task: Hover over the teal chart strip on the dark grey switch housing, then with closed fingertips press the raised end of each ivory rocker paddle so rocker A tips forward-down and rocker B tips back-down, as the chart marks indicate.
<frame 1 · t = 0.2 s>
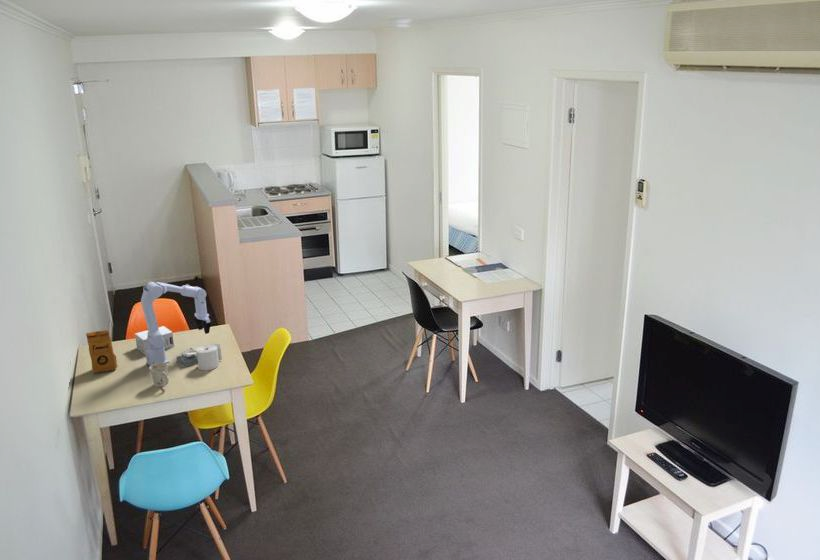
hand: (203, 331, 367), 10 cm above the table, fingers open, 7 cm apart
toilet tissue: (209, 365, 349), on the table
mug: (163, 385, 328), on the table
switch housing: (190, 361, 354), on the table
coffee package: (105, 369, 347), on the table
supplement box: (155, 347, 373), on the table
rocker A: (187, 351, 354), point 5 cm above the table, hinge at -12.0°
rocker B: (191, 354, 351), point 5 cm above the table, hinge at 12.0°
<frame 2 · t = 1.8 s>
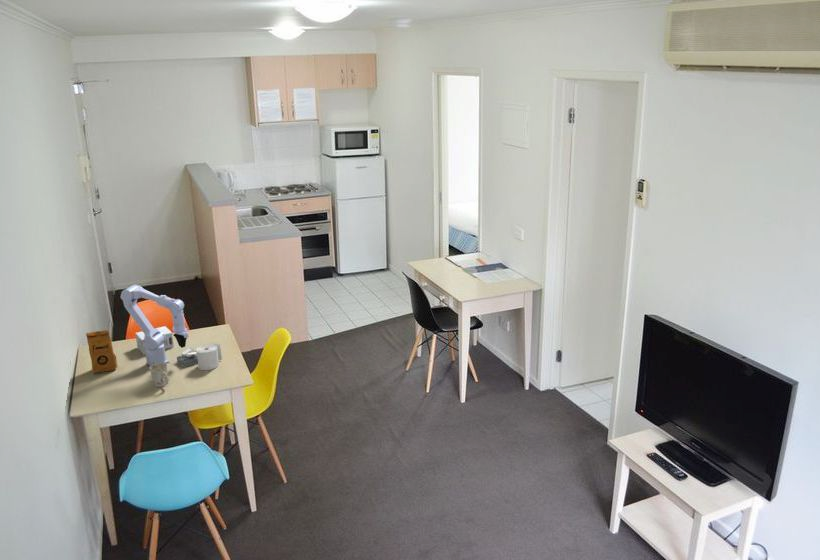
hand: (182, 346, 348), 10 cm above the table, fingers closed
nothing on the table moved.
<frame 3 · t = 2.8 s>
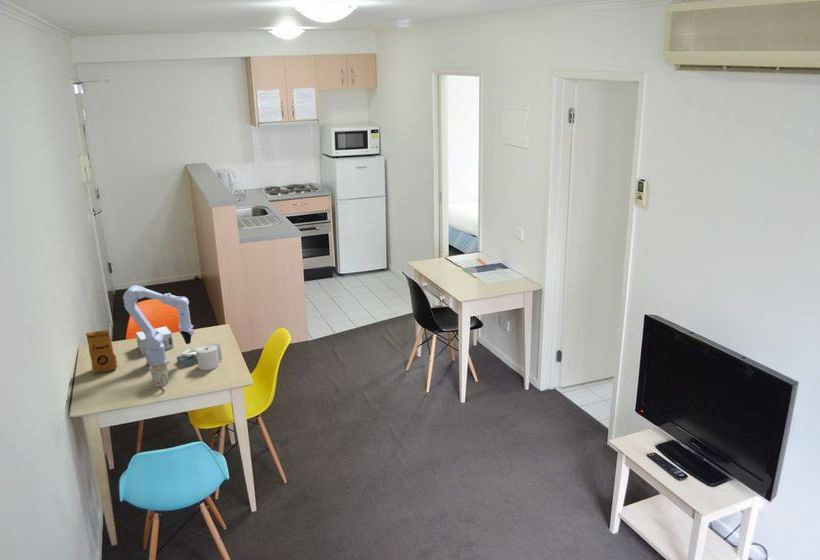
hand: (188, 343, 352), 10 cm above the table, fingers closed
nothing on the table moved.
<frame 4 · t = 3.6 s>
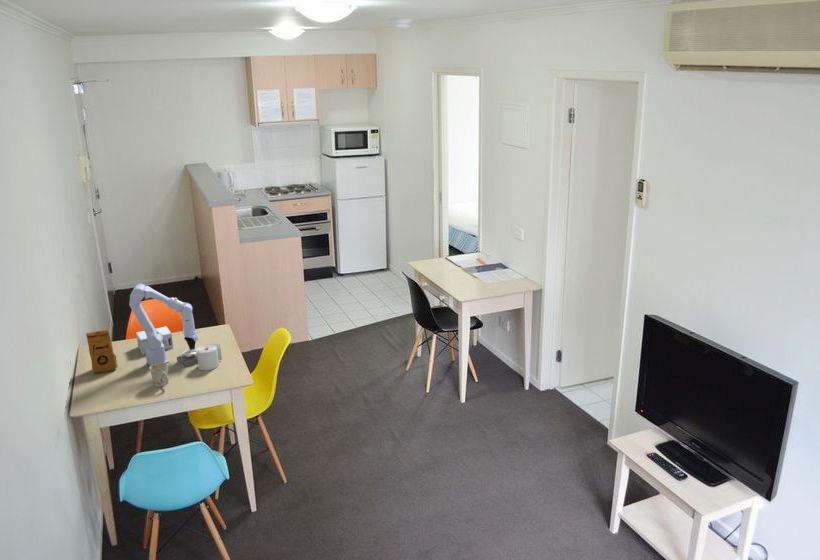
hand: (192, 349, 356), 5 cm above the table, fingers closed, pressing on rocker A
rocker A: (187, 351, 354), point 5 cm above the table, hinge at -11.0°, touching gripper
everything else where it was.
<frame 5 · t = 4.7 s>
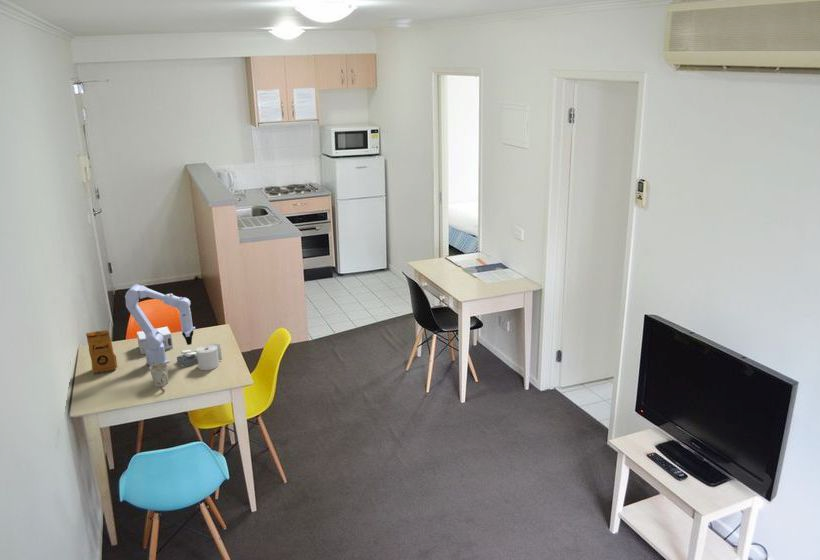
hand: (189, 344, 352), 9 cm above the table, fingers closed
rocker A: (187, 351, 354), point 5 cm above the table, hinge at 12.3°
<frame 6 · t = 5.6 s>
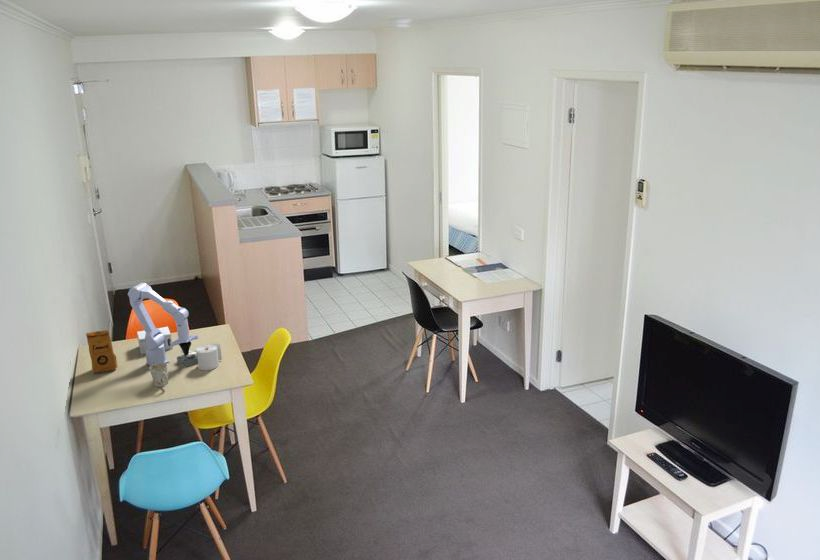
hand: (186, 354, 349), 5 cm above the table, fingers closed, pressing on rocker B
rocker A: (187, 351, 354), point 5 cm above the table, hinge at 23.0°
rocker B: (191, 354, 351), point 5 cm above the table, hinge at 10.8°, touching gripper
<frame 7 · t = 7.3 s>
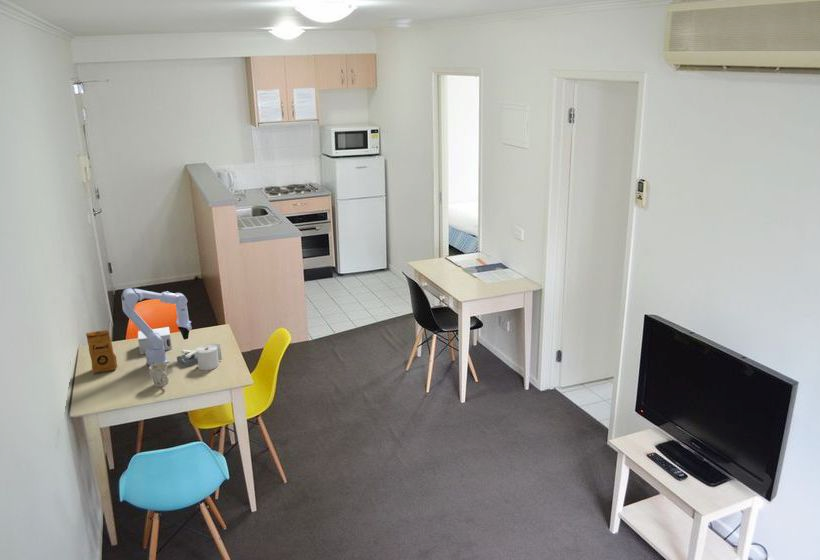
hand: (185, 338, 358), 10 cm above the table, fingers closed
rocker A: (187, 351, 354), point 5 cm above the table, hinge at 21.7°
rocker B: (191, 354, 351), point 5 cm above the table, hinge at -13.4°
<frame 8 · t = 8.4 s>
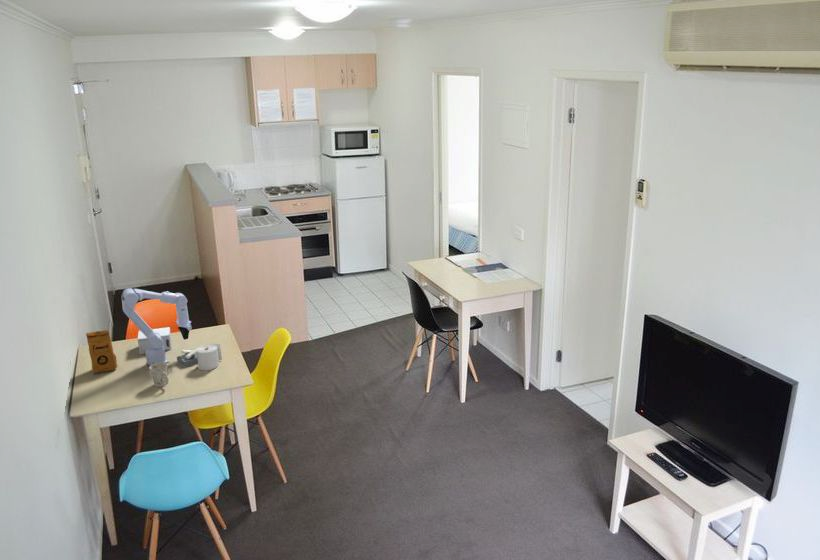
hand: (185, 338, 358), 10 cm above the table, fingers closed
rocker A: (187, 351, 354), point 5 cm above the table, hinge at 20.1°
rocker B: (191, 354, 351), point 5 cm above the table, hinge at -19.3°
at the end: rocker A at +20° (first picture: -12°); rocker B at -20° (first picture: +12°) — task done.
